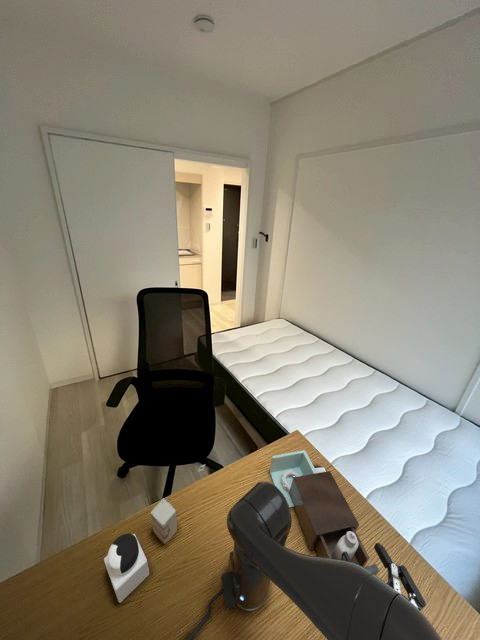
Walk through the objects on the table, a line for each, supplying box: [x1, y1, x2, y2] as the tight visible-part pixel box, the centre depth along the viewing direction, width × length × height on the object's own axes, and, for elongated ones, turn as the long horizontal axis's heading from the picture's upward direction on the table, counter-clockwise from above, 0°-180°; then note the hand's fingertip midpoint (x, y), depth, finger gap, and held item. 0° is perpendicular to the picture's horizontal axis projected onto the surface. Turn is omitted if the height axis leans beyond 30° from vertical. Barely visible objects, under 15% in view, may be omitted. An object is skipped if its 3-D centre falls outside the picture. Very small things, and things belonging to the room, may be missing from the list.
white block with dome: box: [103, 533, 150, 604], centre depth 56 cm, size 7×7×12 cm
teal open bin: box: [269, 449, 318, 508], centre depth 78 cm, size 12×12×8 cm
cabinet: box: [289, 470, 360, 552], centre depth 71 cm, size 15×13×8 cm
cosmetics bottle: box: [150, 497, 178, 546], centre depth 64 cm, size 5×4×10 cm
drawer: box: [315, 527, 380, 576], centre depth 61 cm, size 18×11×6 cm, turn 12°
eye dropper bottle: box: [331, 531, 359, 560], centre depth 60 cm, size 4×6×12 cm
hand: (360, 548), depth 55 cm, fingers open, 8 cm apart
